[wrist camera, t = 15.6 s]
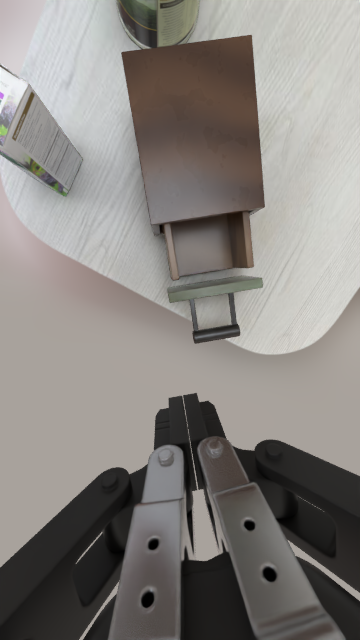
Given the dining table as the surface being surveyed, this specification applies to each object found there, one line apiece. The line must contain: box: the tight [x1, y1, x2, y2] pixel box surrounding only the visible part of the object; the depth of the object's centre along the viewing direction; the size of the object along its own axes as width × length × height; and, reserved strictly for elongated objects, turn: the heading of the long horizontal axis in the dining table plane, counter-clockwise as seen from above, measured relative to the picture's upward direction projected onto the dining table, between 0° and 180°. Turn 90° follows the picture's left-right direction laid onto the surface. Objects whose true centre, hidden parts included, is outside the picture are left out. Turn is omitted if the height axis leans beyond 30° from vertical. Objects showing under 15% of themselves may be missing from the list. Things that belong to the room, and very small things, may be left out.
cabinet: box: [121, 35, 265, 236], centre depth 30 cm, size 16×13×10 cm
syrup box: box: [0, 64, 83, 197], centre depth 27 cm, size 6×6×14 cm
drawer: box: [162, 211, 263, 343], centre depth 33 cm, size 22×12×8 cm, turn 9°
